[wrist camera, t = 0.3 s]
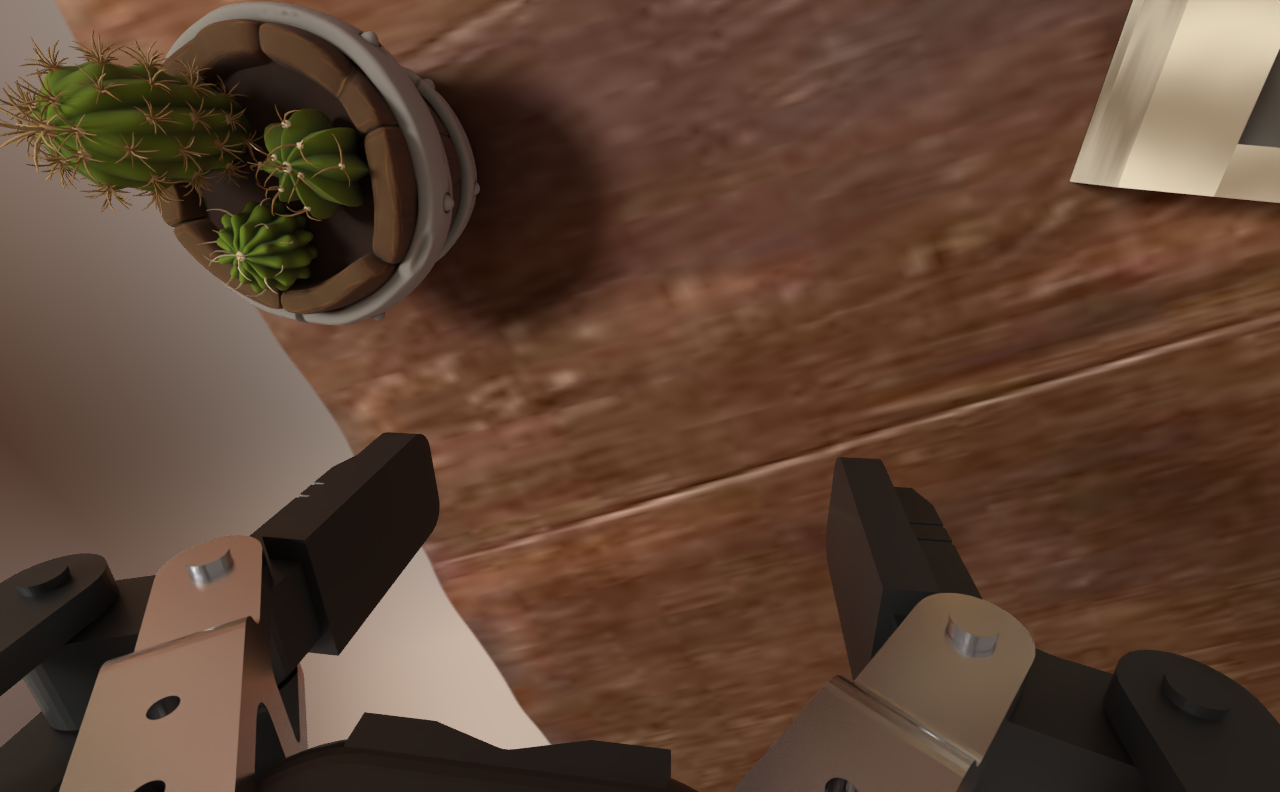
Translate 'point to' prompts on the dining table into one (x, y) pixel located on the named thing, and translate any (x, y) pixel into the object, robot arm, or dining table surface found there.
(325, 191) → the flowerpot
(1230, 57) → the hole block
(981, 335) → the dining table surface
